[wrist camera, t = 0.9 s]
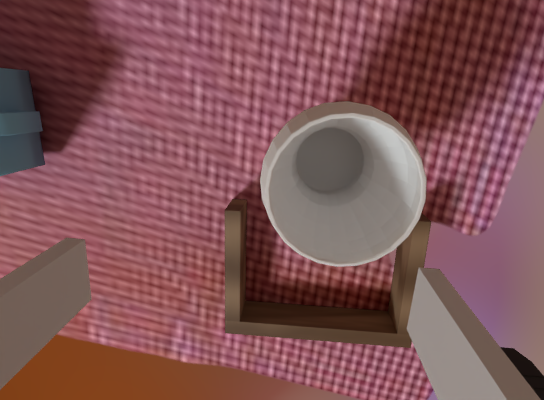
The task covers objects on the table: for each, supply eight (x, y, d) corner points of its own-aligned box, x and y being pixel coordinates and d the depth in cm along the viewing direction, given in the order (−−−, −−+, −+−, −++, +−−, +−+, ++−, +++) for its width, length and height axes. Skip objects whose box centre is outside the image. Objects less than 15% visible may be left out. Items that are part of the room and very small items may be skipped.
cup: (399, 120, 34) (469, 136, 20) (357, 220, 37) (393, 296, 23) (293, 85, 34) (287, 75, 20) (260, 188, 37) (234, 244, 23)
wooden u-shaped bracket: (232, 199, 38) (224, 210, 34) (417, 208, 36) (431, 221, 32) (232, 311, 41) (225, 333, 37) (400, 323, 40) (410, 347, 36)
